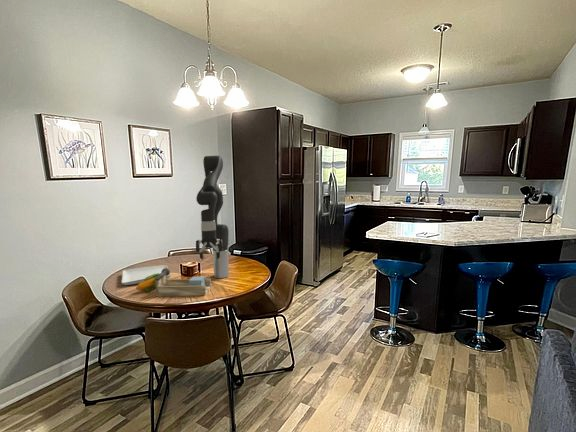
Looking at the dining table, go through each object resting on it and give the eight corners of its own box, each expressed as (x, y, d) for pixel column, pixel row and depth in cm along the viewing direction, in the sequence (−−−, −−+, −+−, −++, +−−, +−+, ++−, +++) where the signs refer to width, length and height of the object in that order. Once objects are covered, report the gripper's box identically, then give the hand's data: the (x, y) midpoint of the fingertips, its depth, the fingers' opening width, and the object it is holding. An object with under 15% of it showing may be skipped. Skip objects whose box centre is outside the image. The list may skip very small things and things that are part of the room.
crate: (192, 286, 172) (192, 276, 171) (205, 286, 172) (204, 276, 171) (189, 291, 165) (188, 280, 165) (202, 291, 165) (201, 280, 165)
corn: (168, 271, 181) (140, 281, 163) (170, 283, 182) (142, 295, 163) (159, 270, 184) (130, 281, 166) (160, 283, 185) (132, 294, 166)
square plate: (122, 275, 200) (122, 269, 200) (167, 269, 213) (166, 264, 212) (121, 288, 176) (121, 281, 176) (171, 280, 189) (171, 274, 188)
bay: (163, 287, 176) (161, 268, 174) (211, 286, 176) (210, 267, 175) (153, 296, 162) (151, 275, 161) (205, 295, 163) (204, 274, 161)
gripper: (223, 228, 167) (224, 257, 168) (197, 228, 167) (199, 257, 169) (220, 230, 159) (221, 260, 161) (193, 230, 160) (194, 260, 162)
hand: (210, 258), depth 165 cm, fingers open, 8 cm apart
